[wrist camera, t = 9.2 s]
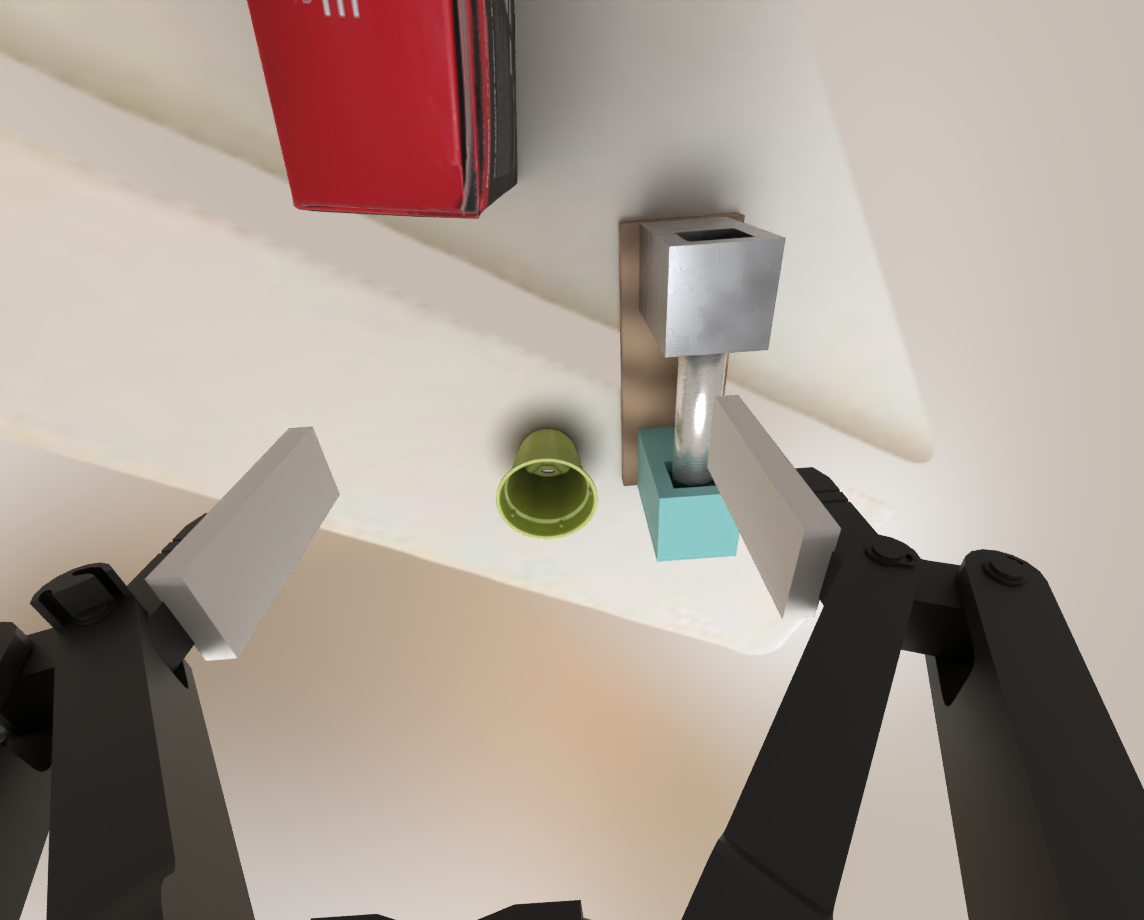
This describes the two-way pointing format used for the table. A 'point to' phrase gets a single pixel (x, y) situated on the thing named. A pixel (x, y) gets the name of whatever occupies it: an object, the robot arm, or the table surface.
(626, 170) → the table surface
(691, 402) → the steel tube
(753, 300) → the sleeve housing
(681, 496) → the teal socket block
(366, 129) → the graphics card box
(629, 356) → the walnut board
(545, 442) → the plant pot
